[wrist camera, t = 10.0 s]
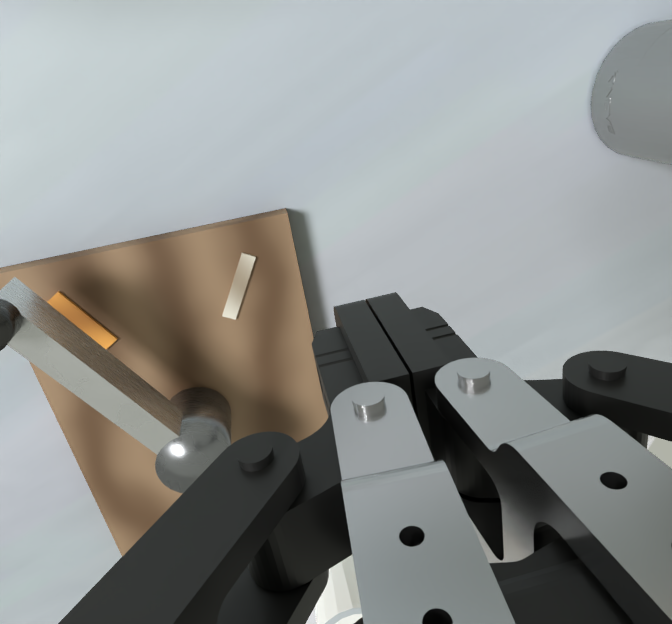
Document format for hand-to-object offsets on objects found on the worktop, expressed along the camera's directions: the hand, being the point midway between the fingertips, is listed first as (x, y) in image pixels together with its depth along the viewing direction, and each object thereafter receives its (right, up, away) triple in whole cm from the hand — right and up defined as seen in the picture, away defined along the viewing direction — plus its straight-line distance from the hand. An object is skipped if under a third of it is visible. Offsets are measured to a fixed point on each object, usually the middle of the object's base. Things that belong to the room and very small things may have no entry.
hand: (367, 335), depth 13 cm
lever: (-16, -3, +26) cm, 30 cm away
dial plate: (-12, -7, +30) cm, 33 cm away
